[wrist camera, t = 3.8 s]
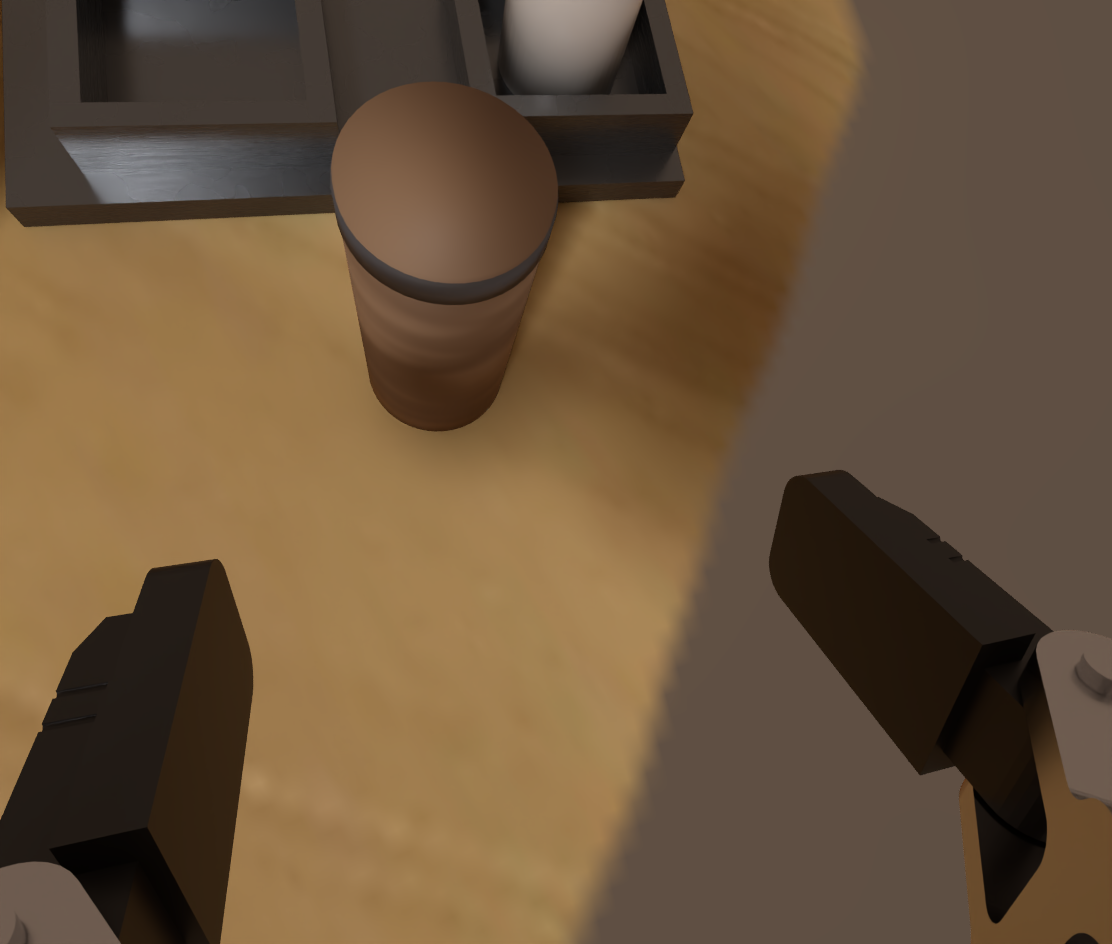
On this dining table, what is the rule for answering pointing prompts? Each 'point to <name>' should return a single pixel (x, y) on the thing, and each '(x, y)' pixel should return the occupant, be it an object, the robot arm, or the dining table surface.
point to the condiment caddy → (286, 102)
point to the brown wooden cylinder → (441, 242)
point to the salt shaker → (564, 45)
